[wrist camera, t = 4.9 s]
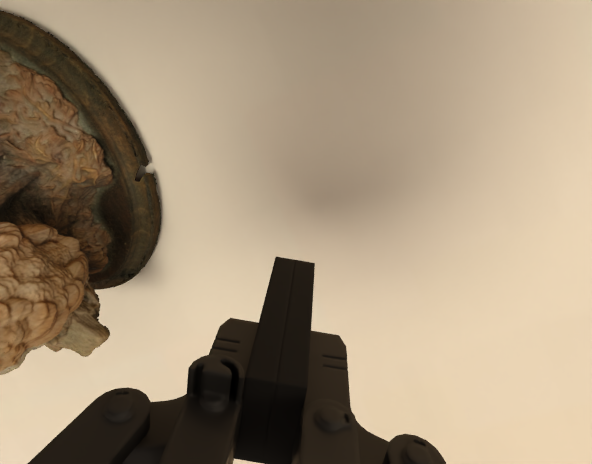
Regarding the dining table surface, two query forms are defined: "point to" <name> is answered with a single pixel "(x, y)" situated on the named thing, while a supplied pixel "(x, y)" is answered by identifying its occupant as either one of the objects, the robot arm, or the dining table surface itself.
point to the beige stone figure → (64, 196)
